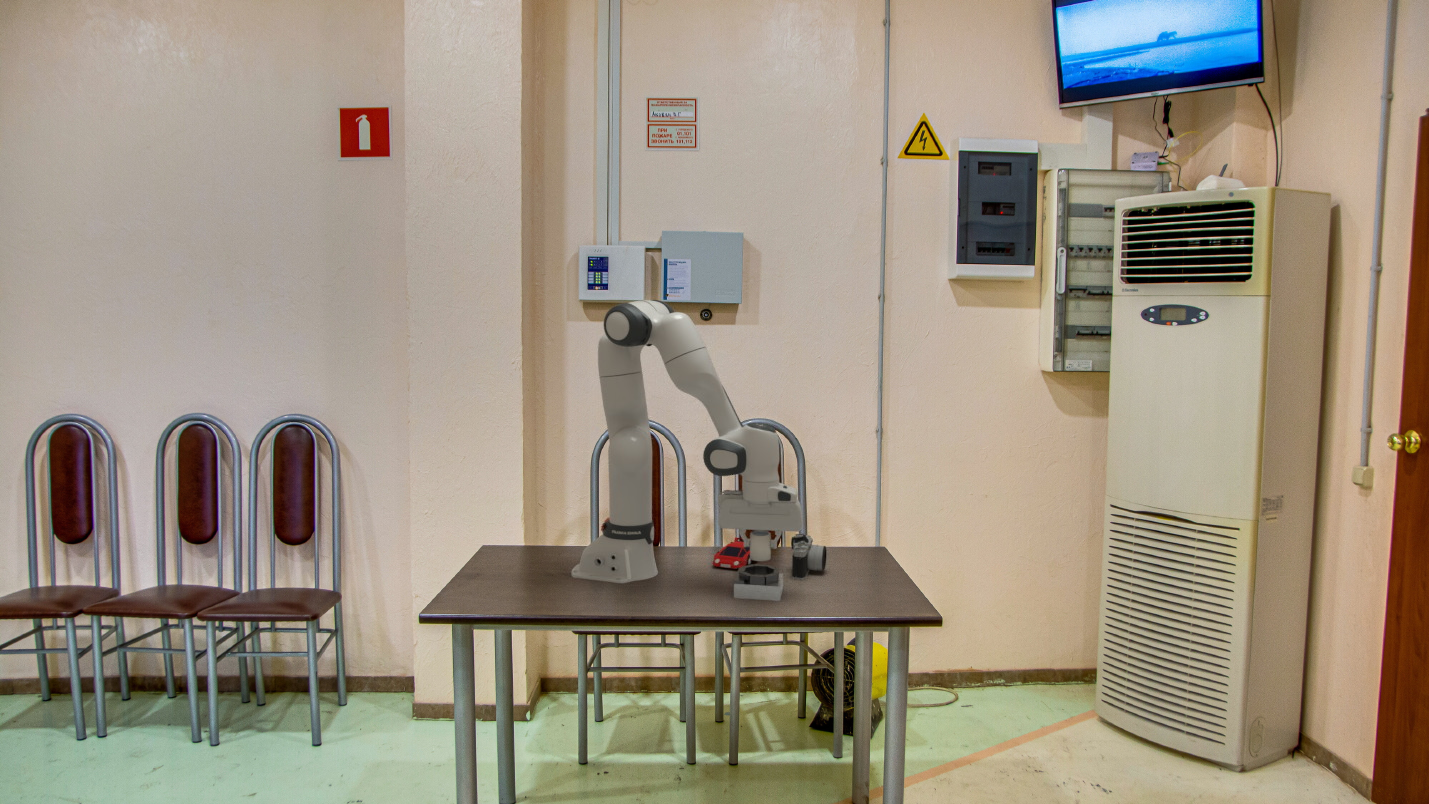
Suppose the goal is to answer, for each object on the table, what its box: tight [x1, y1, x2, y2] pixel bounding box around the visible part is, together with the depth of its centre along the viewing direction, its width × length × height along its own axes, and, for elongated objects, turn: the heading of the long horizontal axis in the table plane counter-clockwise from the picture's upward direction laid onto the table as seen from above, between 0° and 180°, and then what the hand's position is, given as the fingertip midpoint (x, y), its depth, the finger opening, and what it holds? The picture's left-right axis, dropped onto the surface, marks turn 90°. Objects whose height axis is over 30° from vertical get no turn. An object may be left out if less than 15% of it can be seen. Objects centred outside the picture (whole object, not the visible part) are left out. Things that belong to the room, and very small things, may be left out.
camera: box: [790, 532, 827, 581], centre depth 208 cm, size 16×9×10 cm, turn 165°
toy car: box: [712, 537, 753, 570], centre depth 218 cm, size 10×20×5 cm, turn 162°
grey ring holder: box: [733, 563, 784, 602], centre depth 190 cm, size 11×10×6 cm
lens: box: [749, 530, 772, 562], centre depth 189 cm, size 5×5×6 cm
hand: (760, 547), depth 189 cm, fingers closed on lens, 5 cm apart
